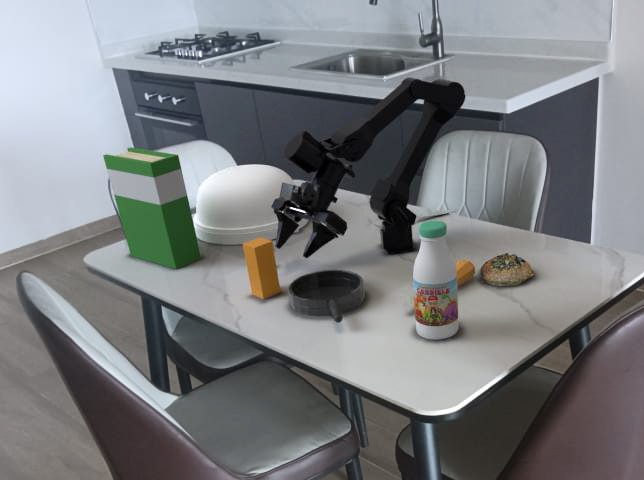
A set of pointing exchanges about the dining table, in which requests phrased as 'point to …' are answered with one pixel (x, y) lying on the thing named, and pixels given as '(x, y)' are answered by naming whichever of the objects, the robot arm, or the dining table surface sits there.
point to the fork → (429, 215)
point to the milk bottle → (435, 284)
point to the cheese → (261, 267)
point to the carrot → (464, 271)
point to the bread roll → (506, 270)
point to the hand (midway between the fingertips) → (290, 252)
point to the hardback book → (153, 206)
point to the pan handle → (335, 310)
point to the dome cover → (240, 204)
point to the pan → (326, 292)
